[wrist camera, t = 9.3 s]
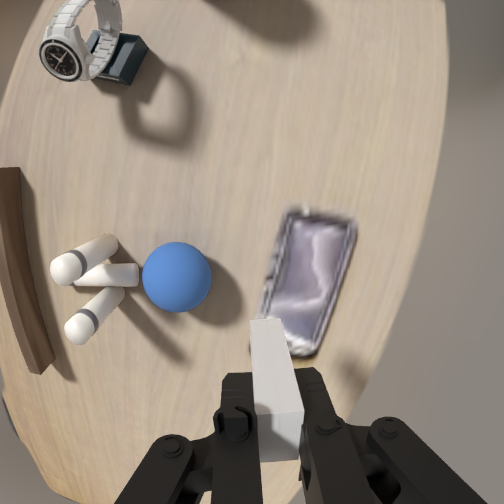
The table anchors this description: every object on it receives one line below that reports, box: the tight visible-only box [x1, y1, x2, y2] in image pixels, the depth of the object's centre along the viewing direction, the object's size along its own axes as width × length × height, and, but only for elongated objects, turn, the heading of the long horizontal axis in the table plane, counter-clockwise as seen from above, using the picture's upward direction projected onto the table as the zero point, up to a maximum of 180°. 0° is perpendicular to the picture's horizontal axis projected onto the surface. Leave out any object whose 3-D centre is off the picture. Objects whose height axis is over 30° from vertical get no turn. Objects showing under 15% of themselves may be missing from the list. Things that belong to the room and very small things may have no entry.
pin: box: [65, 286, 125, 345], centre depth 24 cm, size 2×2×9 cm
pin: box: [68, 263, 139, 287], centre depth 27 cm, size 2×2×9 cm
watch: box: [39, 0, 149, 85], centre depth 17 cm, size 6×8×11 cm
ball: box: [142, 242, 211, 312], centre depth 25 cm, size 6×6×6 cm
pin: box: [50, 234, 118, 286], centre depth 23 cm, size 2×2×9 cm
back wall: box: [0, 167, 55, 375], centre depth 25 cm, size 2×24×4 cm, turn 2°
